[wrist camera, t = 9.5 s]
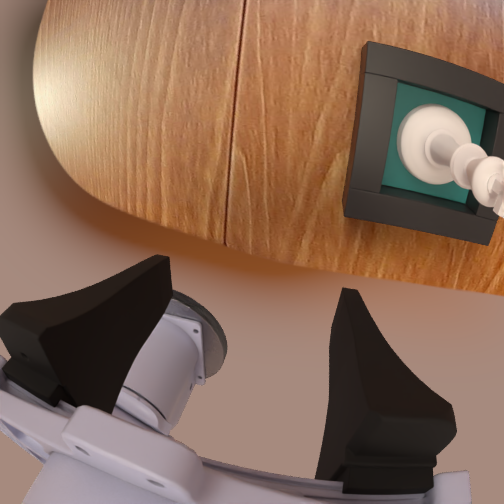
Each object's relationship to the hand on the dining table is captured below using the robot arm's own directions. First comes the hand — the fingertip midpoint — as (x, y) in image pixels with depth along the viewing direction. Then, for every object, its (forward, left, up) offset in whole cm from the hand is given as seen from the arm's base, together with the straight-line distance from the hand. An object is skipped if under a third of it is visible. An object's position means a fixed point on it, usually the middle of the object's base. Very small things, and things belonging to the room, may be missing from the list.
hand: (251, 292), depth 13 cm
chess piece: (+6, -9, -9) cm, 14 cm away
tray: (+6, -9, -10) cm, 15 cm away
